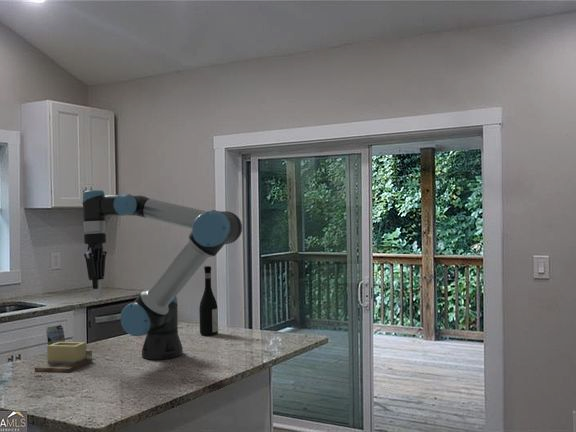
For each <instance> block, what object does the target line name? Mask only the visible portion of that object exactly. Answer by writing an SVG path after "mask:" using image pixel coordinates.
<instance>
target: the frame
mask: <svg viewBox="0 0 576 432" xmlns="http://www.w3.org/2000/svg"><path fill="white" fill-rule="evenodd" d="M46 347H47V349H46V350H47V352H46V353H47V362H48V363H68V364H76V363H79V362H81V361H83V360H85V359H87V354H86V350H87V342H86V341H85V342H84V341H81V342H80V341H65V342H57V343H54V344H51V345H48V344H47V345H46Z"/></svg>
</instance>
